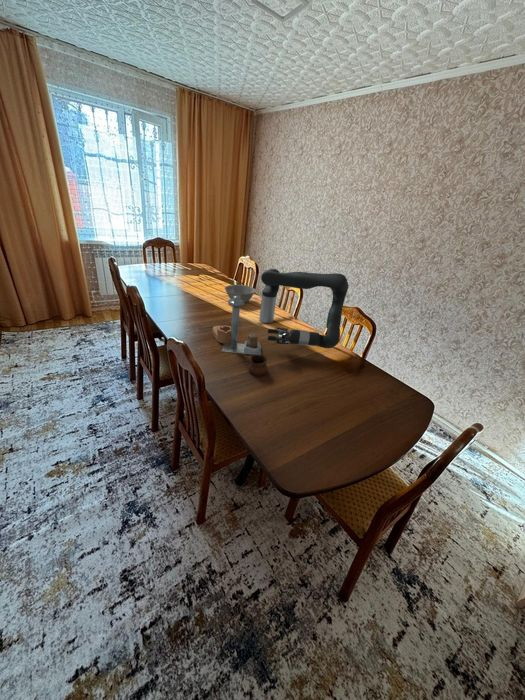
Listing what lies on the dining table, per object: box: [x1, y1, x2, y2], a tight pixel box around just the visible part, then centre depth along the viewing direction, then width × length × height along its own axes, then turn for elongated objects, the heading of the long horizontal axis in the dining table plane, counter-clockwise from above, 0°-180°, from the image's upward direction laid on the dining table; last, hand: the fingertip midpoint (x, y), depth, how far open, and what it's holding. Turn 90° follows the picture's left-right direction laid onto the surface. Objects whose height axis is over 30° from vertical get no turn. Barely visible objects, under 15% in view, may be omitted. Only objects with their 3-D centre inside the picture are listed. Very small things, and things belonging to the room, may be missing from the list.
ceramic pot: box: [238, 355, 268, 377], centre depth 131 cm, size 18×18×7 cm
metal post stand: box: [221, 296, 262, 356], centre depth 143 cm, size 10×20×28 cm, turn 90°
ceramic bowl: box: [224, 284, 256, 304], centre depth 211 cm, size 22×23×10 cm
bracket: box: [212, 325, 231, 344], centre depth 158 cm, size 18×8×7 cm, turn 23°
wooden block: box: [247, 333, 258, 348], centre depth 148 cm, size 4×4×8 cm
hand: (267, 334), depth 146 cm, fingers open, 8 cm apart
